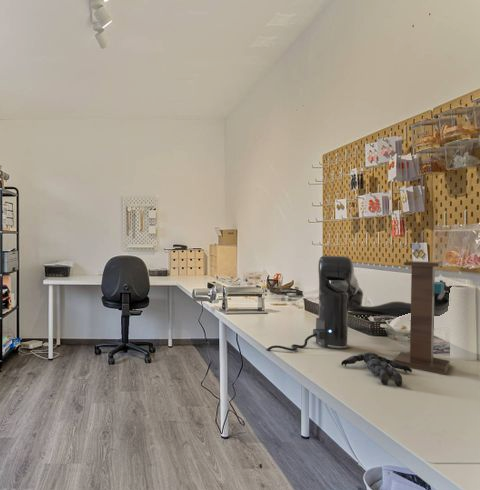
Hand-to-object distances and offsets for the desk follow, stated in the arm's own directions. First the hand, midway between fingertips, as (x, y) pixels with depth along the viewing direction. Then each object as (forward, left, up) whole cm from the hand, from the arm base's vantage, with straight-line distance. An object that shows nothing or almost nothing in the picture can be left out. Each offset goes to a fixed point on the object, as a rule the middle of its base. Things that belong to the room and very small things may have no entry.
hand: (432, 282), depth 127 cm
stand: (-15, -14, -25) cm, 32 cm away
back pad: (-3, -3, -2) cm, 4 cm away
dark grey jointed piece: (-34, -22, -25) cm, 47 cm away
